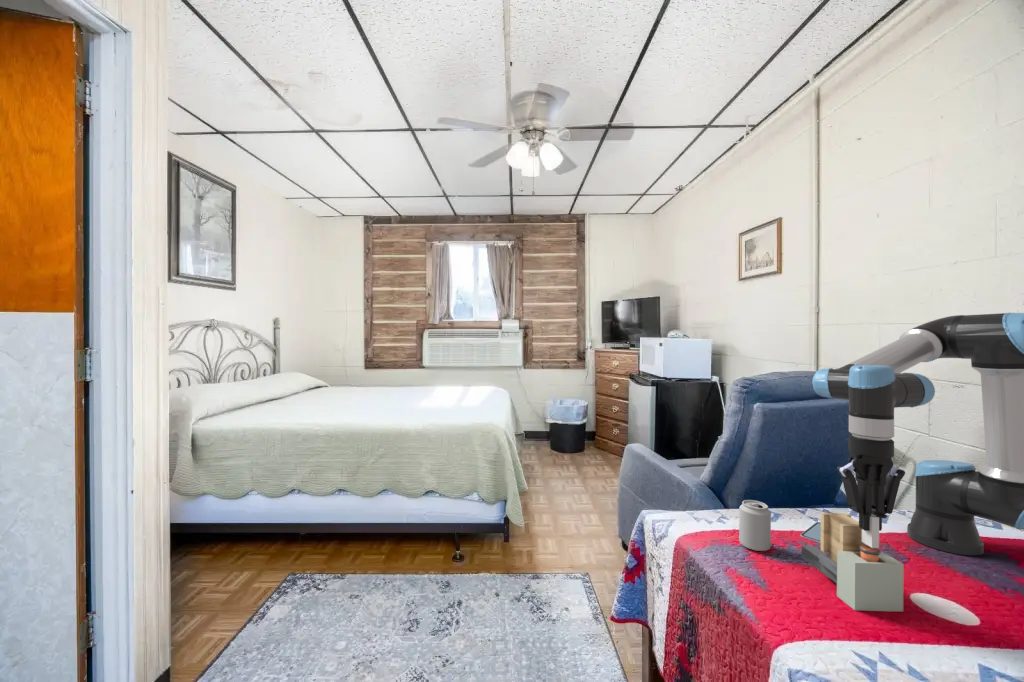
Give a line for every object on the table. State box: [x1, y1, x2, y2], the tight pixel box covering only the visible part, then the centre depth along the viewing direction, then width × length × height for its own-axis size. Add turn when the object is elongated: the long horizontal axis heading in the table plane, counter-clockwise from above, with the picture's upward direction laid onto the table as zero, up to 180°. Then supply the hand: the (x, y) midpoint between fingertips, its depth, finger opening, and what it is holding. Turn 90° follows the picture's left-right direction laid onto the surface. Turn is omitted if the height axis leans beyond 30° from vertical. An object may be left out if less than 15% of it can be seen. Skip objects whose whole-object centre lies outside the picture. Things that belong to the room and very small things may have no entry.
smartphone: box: [800, 521, 821, 544], centre depth 123 cm, size 7×1×15 cm
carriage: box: [819, 512, 866, 584], centre depth 97 cm, size 7×7×14 cm
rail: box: [801, 545, 837, 585], centre depth 101 cm, size 3×17×3 cm, turn 179°
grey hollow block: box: [836, 551, 905, 613], centre depth 90 cm, size 10×5×10 cm, turn 89°
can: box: [738, 499, 772, 552], centre depth 115 cm, size 8×8×12 cm
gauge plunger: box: [859, 545, 881, 562], centre depth 90 cm, size 3×3×4 cm
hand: (870, 544), depth 90 cm, fingers closed
